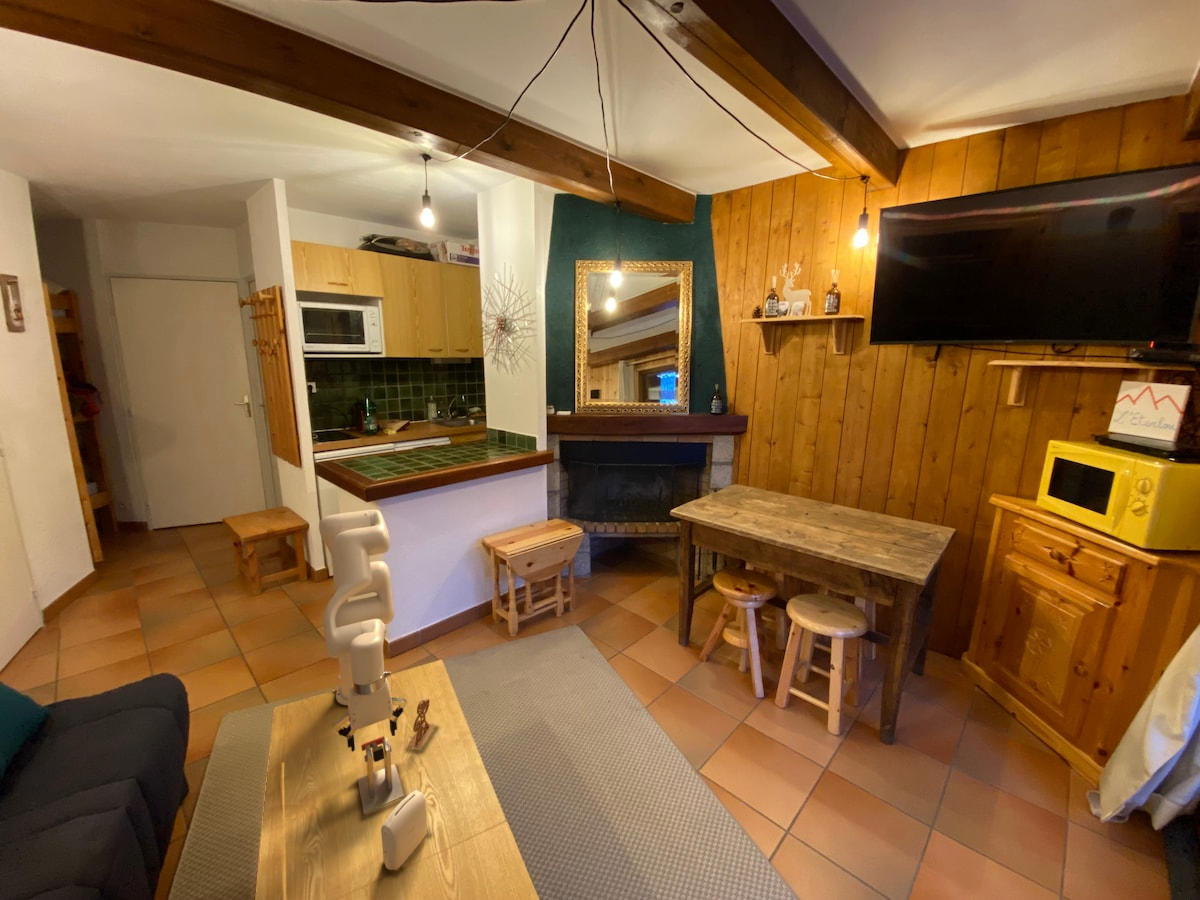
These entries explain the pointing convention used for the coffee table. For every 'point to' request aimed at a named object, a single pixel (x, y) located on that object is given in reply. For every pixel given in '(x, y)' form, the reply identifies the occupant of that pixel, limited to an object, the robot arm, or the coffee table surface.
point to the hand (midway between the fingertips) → (373, 740)
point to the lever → (375, 748)
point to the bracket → (379, 781)
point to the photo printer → (404, 830)
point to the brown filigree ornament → (422, 732)
